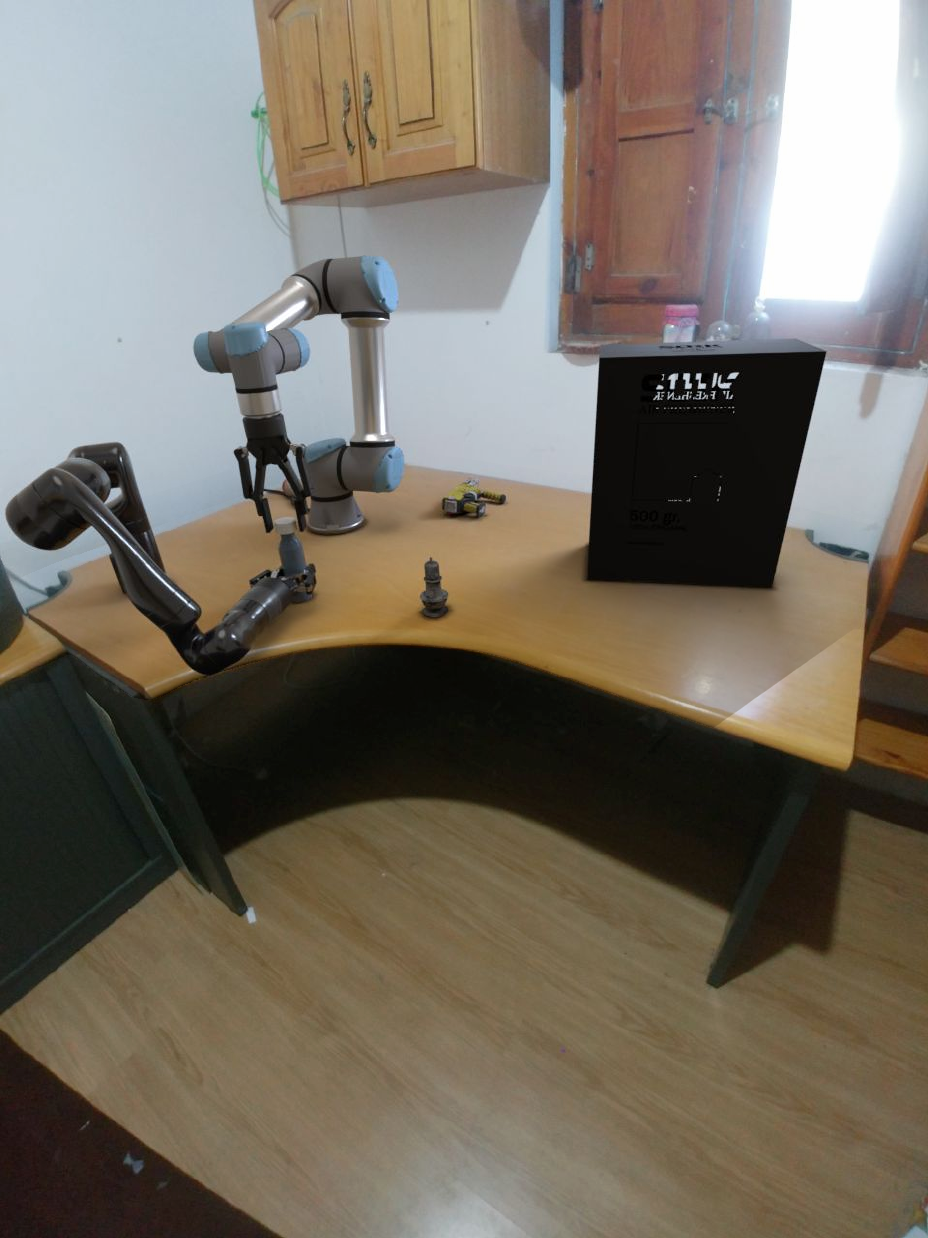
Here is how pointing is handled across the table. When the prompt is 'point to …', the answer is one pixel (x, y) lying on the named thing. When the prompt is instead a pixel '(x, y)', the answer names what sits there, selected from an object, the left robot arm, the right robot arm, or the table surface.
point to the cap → (285, 525)
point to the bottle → (292, 560)
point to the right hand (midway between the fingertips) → (286, 529)
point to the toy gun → (468, 499)
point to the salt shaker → (433, 591)
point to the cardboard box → (698, 459)
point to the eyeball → (287, 489)
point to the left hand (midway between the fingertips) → (300, 566)
